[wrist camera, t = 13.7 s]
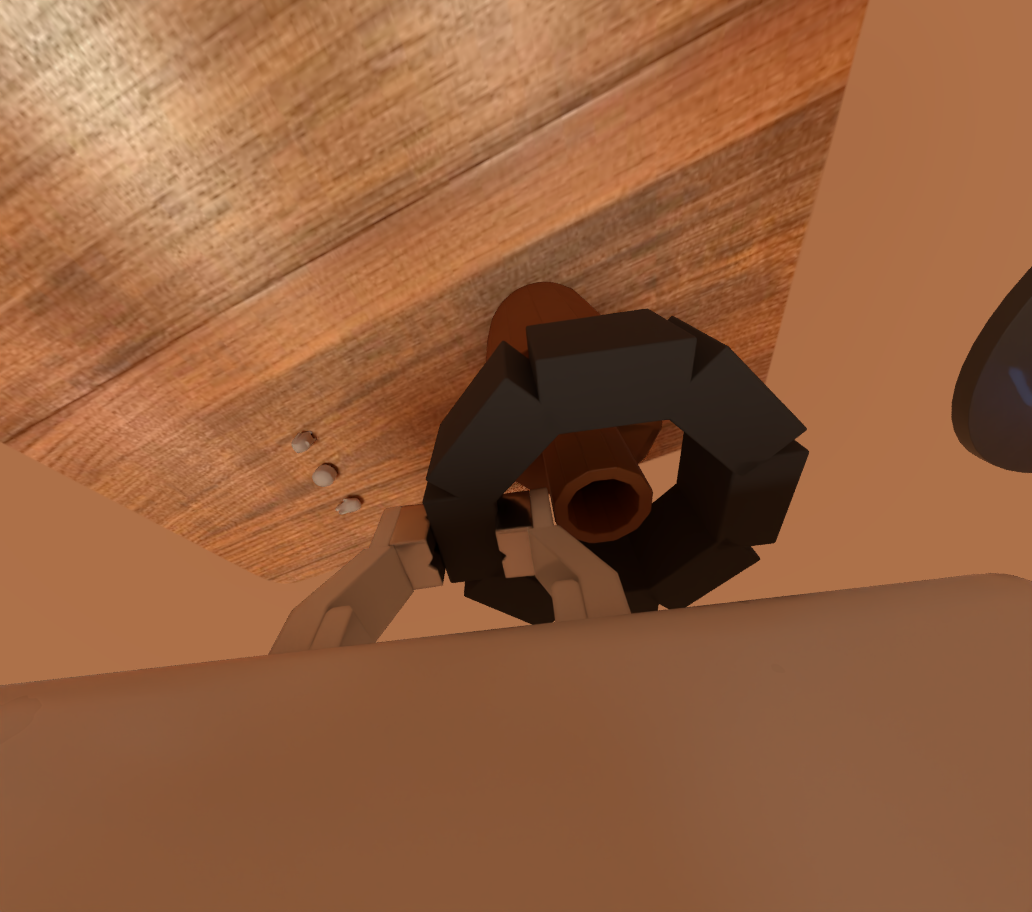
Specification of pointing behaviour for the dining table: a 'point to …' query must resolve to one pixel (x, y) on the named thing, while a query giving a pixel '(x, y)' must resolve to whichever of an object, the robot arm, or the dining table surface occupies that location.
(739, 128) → the dining table surface
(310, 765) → the robot arm
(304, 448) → the game pieces
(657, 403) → the black segmented bracelet
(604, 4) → the dining table surface
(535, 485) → the amber bottle
